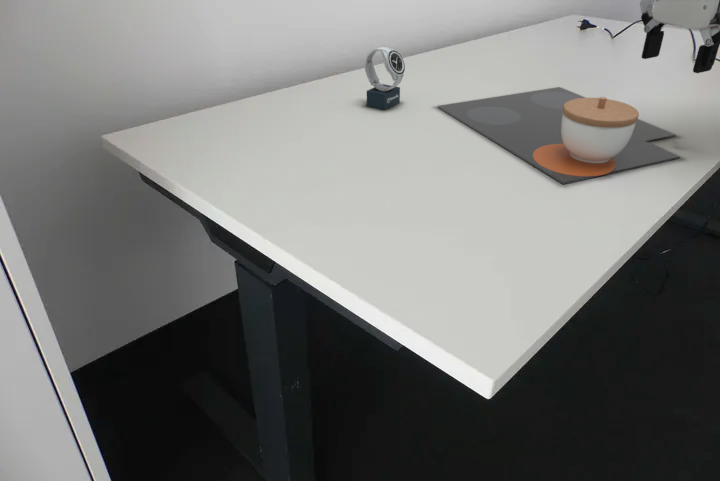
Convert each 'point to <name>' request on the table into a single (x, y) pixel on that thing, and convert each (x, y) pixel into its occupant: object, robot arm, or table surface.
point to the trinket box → (596, 128)
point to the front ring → (569, 162)
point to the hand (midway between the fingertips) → (674, 64)
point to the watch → (382, 93)
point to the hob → (548, 129)
